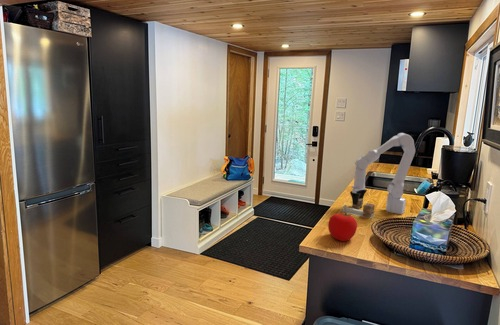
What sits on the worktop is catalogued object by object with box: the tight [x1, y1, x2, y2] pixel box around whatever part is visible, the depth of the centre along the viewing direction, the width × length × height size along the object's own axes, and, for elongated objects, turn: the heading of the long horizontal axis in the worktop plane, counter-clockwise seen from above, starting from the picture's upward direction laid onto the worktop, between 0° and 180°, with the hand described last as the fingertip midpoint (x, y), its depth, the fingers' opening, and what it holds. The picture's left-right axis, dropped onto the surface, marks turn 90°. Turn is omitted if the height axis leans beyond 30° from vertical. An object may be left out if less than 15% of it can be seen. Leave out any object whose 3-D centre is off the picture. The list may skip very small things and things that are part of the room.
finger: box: [362, 202, 375, 219], centre depth 177 cm, size 4×5×6 cm
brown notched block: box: [351, 198, 364, 210], centre depth 190 cm, size 4×5×6 cm
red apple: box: [327, 212, 358, 242], centre depth 147 cm, size 12×14×12 cm
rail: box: [340, 204, 376, 220], centre depth 180 cm, size 16×7×3 cm, turn 52°
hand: (357, 202), depth 190 cm, fingers open, 7 cm apart
